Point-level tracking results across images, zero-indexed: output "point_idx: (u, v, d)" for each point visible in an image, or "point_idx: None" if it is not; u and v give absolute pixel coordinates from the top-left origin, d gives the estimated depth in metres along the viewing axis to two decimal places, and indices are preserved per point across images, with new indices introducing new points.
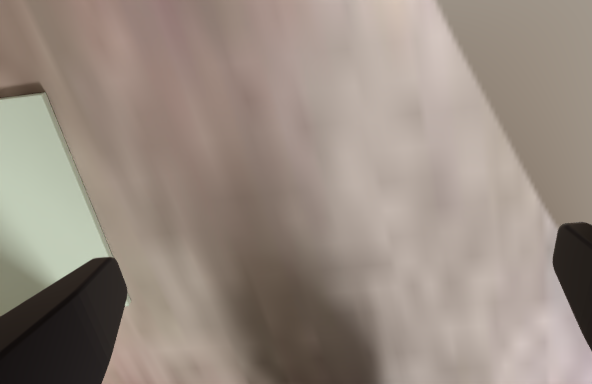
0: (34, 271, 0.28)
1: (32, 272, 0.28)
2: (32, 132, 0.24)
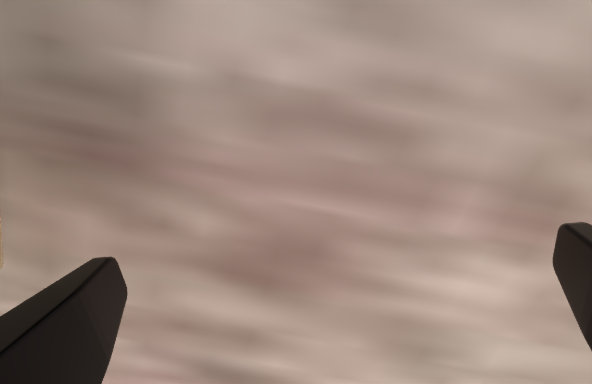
0: None
1: None
2: None
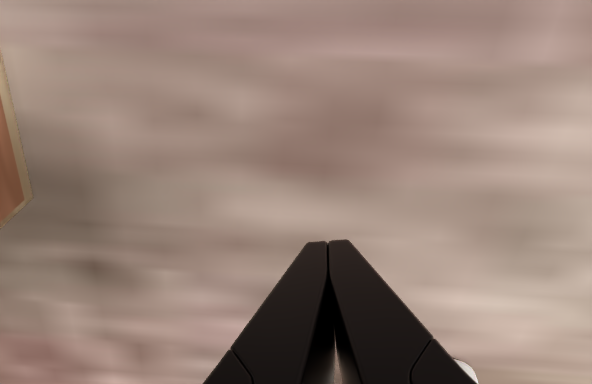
0: None
1: None
2: None
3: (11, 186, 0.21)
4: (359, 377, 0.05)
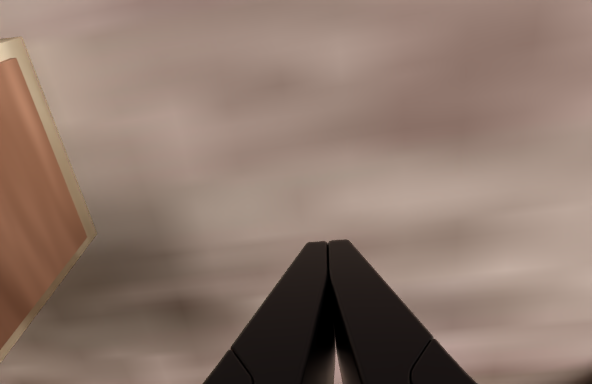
0: None
1: None
2: None
3: (68, 222, 0.17)
4: (359, 377, 0.05)
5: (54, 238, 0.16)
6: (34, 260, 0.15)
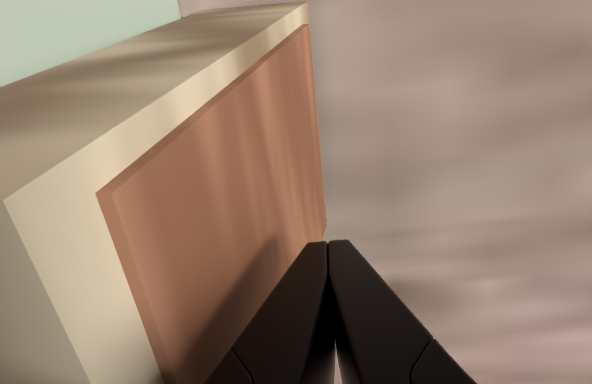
0: None
1: None
2: None
3: (320, 208, 0.15)
4: (359, 377, 0.05)
5: (314, 225, 0.14)
6: None
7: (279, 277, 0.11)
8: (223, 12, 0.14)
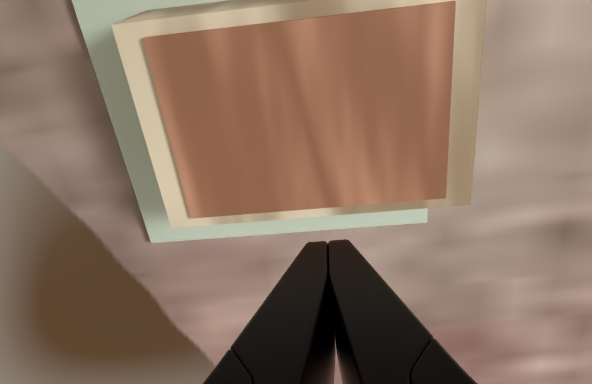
0: None
1: None
2: None
3: (428, 173, 0.17)
4: (359, 377, 0.05)
5: (398, 175, 0.17)
6: (364, 178, 0.17)
7: (296, 160, 0.17)
8: None
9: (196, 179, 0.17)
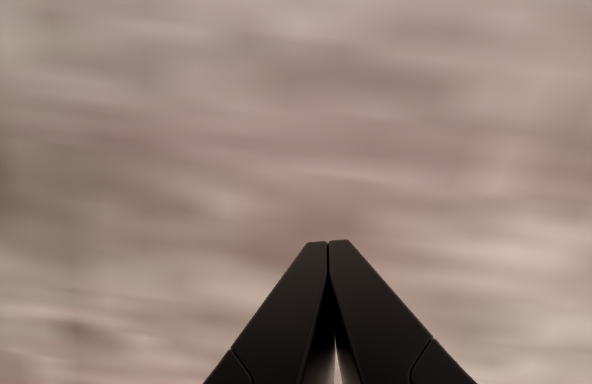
0: None
1: None
2: None
3: None
4: (359, 377, 0.05)
5: None
6: None
7: None
8: None
9: None
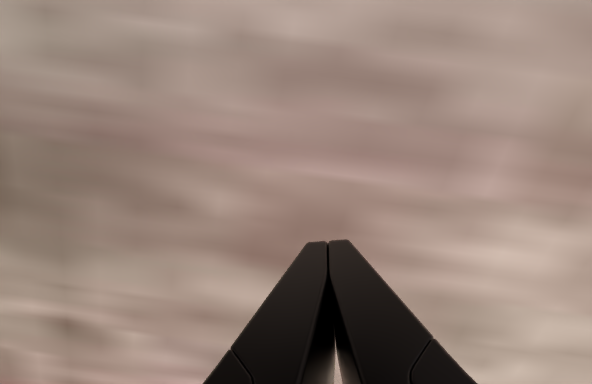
0: None
1: None
2: None
3: None
4: (359, 377, 0.05)
5: None
6: None
7: None
8: None
9: None
